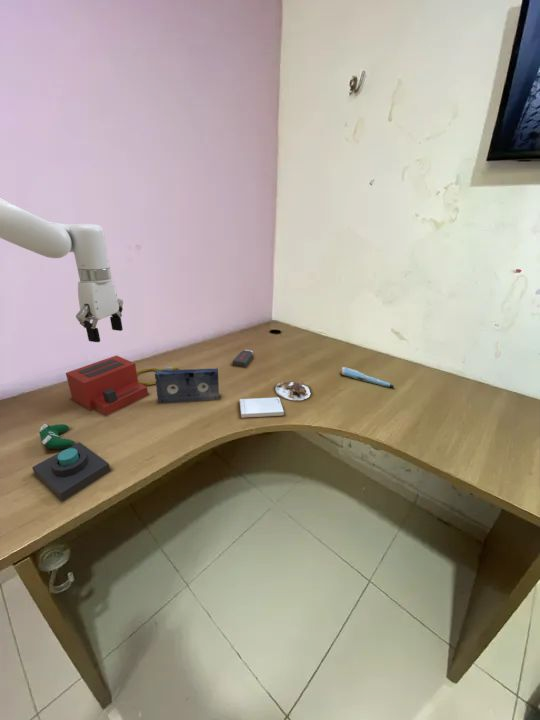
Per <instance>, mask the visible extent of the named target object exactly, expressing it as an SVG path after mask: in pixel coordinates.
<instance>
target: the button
mask: <svg viewBox="0 0 540 720" xmlns="http://www.w3.org/2000/svg"><path fill="white" fill-rule="evenodd" d="M58 453H59V454H58ZM58 453H57V454H58V461H59V464H60V465H61V466H68V465H72V464H73V463H75V462H77V461H78V459H79V455H78V452H77V450H76V449H74V448H70V449H67V448H65V449H64V450H61V451H59V452H58Z"/></svg>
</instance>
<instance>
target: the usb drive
mask: <svg viewBox="0 0 540 720" xmlns="http://www.w3.org/2000/svg"><path fill="white" fill-rule="evenodd" d="M253 352H254V351H253V350H249V349H243V350H242V351H240V352H239V353H238V354H237V355H236V357H235V358H234V359H233V360H232V367H240V368H245V369H246V368H247V366H249V364H250V363H251V361H252V360H253Z"/></svg>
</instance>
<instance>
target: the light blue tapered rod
mask: <svg viewBox="0 0 540 720" xmlns="http://www.w3.org/2000/svg"><path fill="white" fill-rule="evenodd" d="M341 376H344V377H348V378H352V379H354V380H359V381H362V382H367V383H371V384H374V385H378V386H382V387H387V388H395V385H394V384H391V383H390V382H388V381H385V380H381V379H379V378H376V377H372V376H370V375H367V374H365V373H363V372H360V371H359V370H356V369H353V368H349V367H346V366H342V367H341Z"/></svg>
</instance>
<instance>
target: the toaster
mask: <svg viewBox="0 0 540 720" xmlns="http://www.w3.org/2000/svg"><path fill="white" fill-rule="evenodd" d="M137 372H138V371H137V367H136V363H135V362H133V361H131V360H128V359H126V358H124V357H122V356H119V355H114V356H110V357H107V358H105V359H102V360H99V361H96V362H93V363H91V364H87V365H84V366H81V367H79V368H76V369H73V370H70V371H67V372H65V376H66V380H67V383H68V387H69V391H70V394H71V395H70V396H71V398H72V400H73V401H75V402H76V403H78V404H79V405H81V406H83V407H84V408H86V409H88V410H89V411H92V410H95V411H97V412H99V413H101V414H102V415H103V416H106V417H107V416H109V415H111V414H113V413H115V412H117V411H119V410H121V409H123V408H125V407H127V406H129V405H131V404H133V403H135V402H137V401H139V400H142V399H143V398H145V397H147V396H149V391H148V386H144V385H142V384H141V383H138V382H139V379H138V375H137V374H138V373H137ZM108 389H113V390H115V391H116V396H117V400H116V401H114V402H112V403H108V402H106V401H105V400H104V395H103V392H104V391H106V390H108Z"/></svg>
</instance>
